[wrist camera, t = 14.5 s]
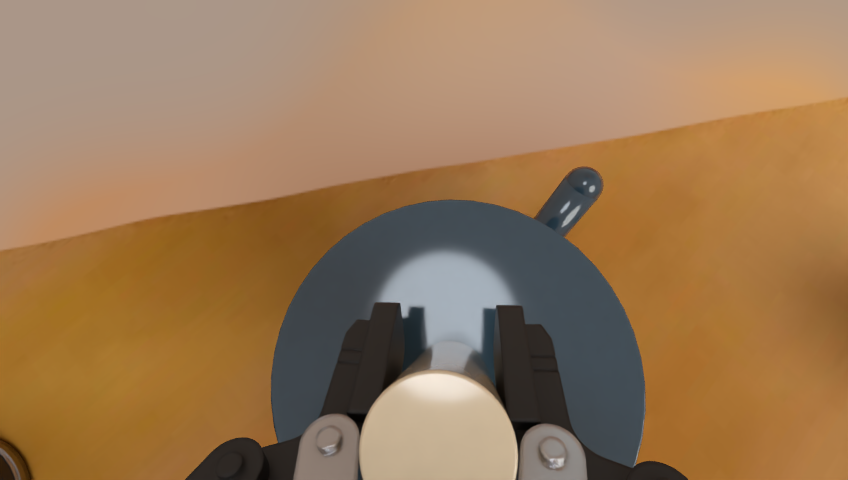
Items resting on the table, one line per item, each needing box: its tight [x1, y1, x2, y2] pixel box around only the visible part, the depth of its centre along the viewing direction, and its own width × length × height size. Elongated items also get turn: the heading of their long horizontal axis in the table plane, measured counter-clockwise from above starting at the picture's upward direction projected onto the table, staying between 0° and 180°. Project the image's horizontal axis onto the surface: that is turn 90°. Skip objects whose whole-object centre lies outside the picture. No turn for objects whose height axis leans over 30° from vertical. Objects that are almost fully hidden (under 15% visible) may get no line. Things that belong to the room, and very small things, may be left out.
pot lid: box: [271, 200, 645, 480], centre depth 12 cm, size 14×14×9 cm
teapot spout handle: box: [534, 167, 604, 237], centre depth 23 cm, size 23×2×7 cm, turn 142°
